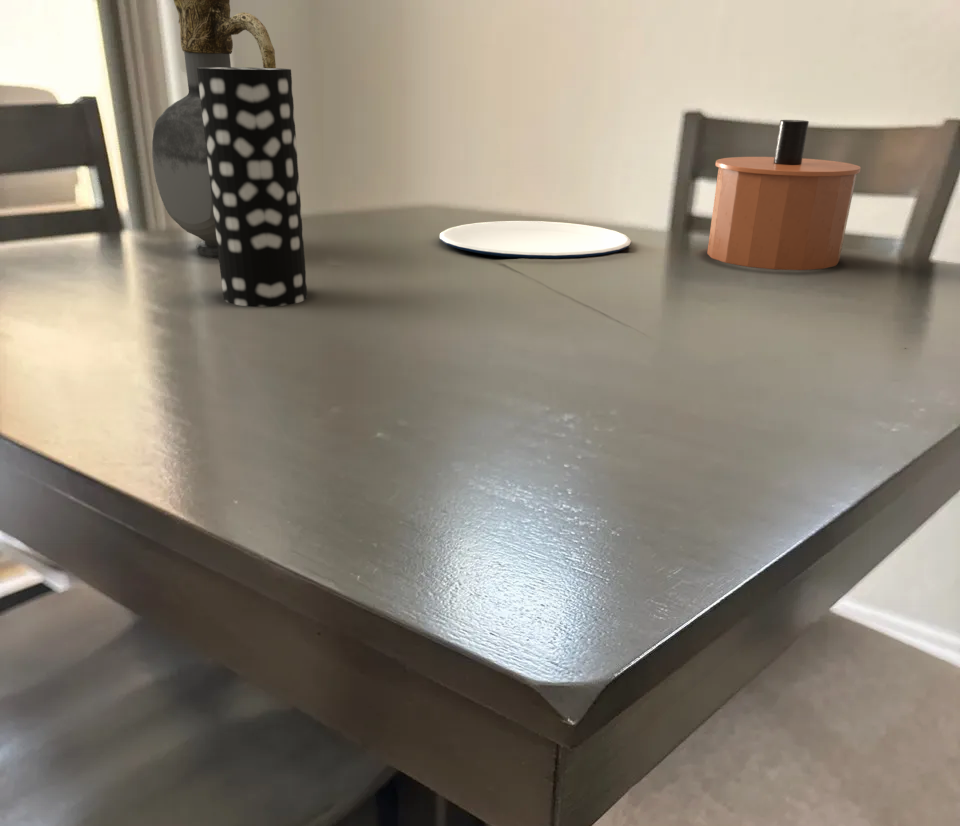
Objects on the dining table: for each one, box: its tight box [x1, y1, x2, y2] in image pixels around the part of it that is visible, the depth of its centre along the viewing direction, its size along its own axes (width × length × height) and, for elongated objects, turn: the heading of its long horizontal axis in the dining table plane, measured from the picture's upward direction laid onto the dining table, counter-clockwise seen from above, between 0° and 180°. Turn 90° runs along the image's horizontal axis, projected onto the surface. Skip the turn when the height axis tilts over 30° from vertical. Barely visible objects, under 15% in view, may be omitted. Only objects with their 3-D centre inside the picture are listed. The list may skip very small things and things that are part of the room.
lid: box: [715, 119, 862, 177], centre depth 114 cm, size 17×17×6 cm
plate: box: [439, 220, 632, 260], centre depth 127 cm, size 25×25×1 cm
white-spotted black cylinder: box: [197, 66, 308, 308], centre depth 93 cm, size 8×8×20 cm
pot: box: [706, 167, 858, 271], centre depth 118 cm, size 16×16×10 cm
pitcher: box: [151, 0, 277, 259], centre depth 109 cm, size 11×19×30 cm, turn 49°
